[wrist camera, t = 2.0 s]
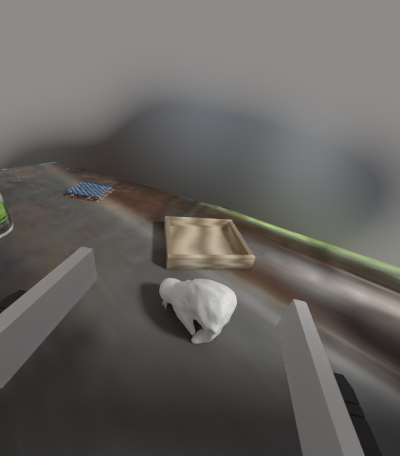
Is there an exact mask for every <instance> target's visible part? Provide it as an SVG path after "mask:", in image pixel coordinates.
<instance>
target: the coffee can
mask: <svg viewBox="0 0 400 456" xmlns="http://www.w3.org/2000/svg"><path fill="white" fill-rule="evenodd" d="M13 227H14V226H13V223H12V222H11V219H10V217H9V214H8V211H7V209H6V206H5V204H4V201H3V199H2V196H1V193H0V238H2V237H4V236H6V235H7V234H9V233H10V232H11V231H12V230H13Z"/></svg>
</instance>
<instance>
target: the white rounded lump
mask: <svg viewBox="0 0 400 456" xmlns="http://www.w3.org/2000/svg"><path fill="white" fill-rule="evenodd" d="M159 293H160V296H161V298H162V299H163V300H164V301H163V303H162V304H163V305H164V308H166V305H167V303H170V304H171V305H172V306H173V309H174V311H175V313H176V315H177V317H178V318H179V319H180V321H181V322H182V323H183V324H184V326H185V327H186V328H187V330H188V331H189V332H190V334H191V335H194V336H193V337H192V339H191V341H192V343H195V344H199V343H204V342H210V341H212V340H213V339H214V338H215V337H216V336H217V335H218V334H220V332H221V328H222V327H223V326H224V325H225V324H226V323H228V321H229V320H230V317H231V315H232V313H233V311H234V310H235V307H236V304H237V301H236V295H235V293H234V292H233V291H232V290H231V289H230V288H228V287H227V286H225V285H223V284H220V283H218V282H215V281H212V280H207V279H194V280H192V281H191V280H187V281H185V282H183V281H179V280H177V279H174V278H167V279H165V280H164V281H163V282H162V283H161V285H160V288H159ZM163 305H162V306H163ZM167 306H168V305H167ZM194 319H195V320H197V321H198V323H199V324H200V325H201V326H202V328H203V329H201V330H198V331H197V332H196V333H195V328H194V324H193V320H194Z"/></svg>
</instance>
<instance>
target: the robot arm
mask: <svg viewBox="0 0 400 456" xmlns="http://www.w3.org/2000/svg"><path fill="white" fill-rule="evenodd" d="M96 280H97V274H96V267H95V260H94V253H93V249H90V248H86V247H81V248H80V249H78V250H77V251H76V252H75V253H74V254H72V255H71V256H70V257H69V258H67V259H66V260H65V261H64V262H63V263H61V264H60V265H59V266H58V267H57V268H55V269H54V270H53V271H52V272H50V273H49V274H48V275H47V276H46V277H44V278H43V279H42V280H41V281H39V282H38V283H37V284H36V285H35V286H33V287H32V288H31V289H30V290H29V291H23V290H20V291H18V292H16V293H14V294H12V295H10V296H8V297H6V298H5V299H4V300H2V301H1V302H0V389H2V388H3V387H4V386H5V385H6V383H7V382H8V381H9V380H10V379H11V378H12V377H13V375H14V374H15V373H16V372H17V371H18V370H19V369H20V367H21V366H22V365H23V364H24V363H25V362H26V360H27V359H28V358H29V357H30V356H31V355H32V354H33V352H34V351H35V350H36V349H37V348H38V347H39V346H40V344H41V343H42V342H43V341H44V340H45V339H46V337H47V336H48V335H49V334H50V333H51V332H52V331H53V329H54V328H55V327H56V326H57V325H58V324H59V323H60V321H61V320H62V319H63V318H64V317H65V316H66V315H67V313H68V312H69V311H70V310H71V309H72V308H73V306H74V305H75V304H76V303H77V302H78V301H79V300H80V298H81V297H82V296H83V295H84V294H85V293H86V292H87V290H88V289H89V288H90V287H91V286H92V285H93V283H94V282H95V281H96ZM277 329H278V334H279V339H280V344H281V349H282V354H283V359H284V364H285V369H286V374H287V379H288V384H289V389H290V394H291V399H292V404H293V409H294V414H295V419H296V424H297V430H298V435H299V440H300V445H301V450H302V455H303V456H382V455H381V453H380V450H379V448H378V446H377V443H376V441H375V439H374V436H373V434H372V432H371V430H370V427H369V425H368V423H367V421H366V420H365V416H364V413H363V411H362V409H361V407H360V406H359V402H358V400H357V397H356V395H355V393H354V390H353V388H352V387H351V386H350V384H349V383H348V381H347V380H346V379H345V377H344V376H343V375H341V374H337V373H334V372H332V369H331V366H330V364H329V361H328V359H327V356H326V353H325V351H324V348H323V345H322V343H321V340H320V338H319V335H318V332H317V330H316V327H315V325H314V322H313V319H312V317H311V314H310V312H309V309H308V306H307V304H306V302H303V301H299V300H295V299H293V301H292V302H291V304H290V305H289V307H288V309H287V310H286V312H285V313H284V315H283V316H282V318H281V320H280V321H279V323H278V324H277Z"/></svg>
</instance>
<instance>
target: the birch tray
mask: <svg viewBox="0 0 400 456" xmlns="http://www.w3.org/2000/svg"><path fill="white" fill-rule="evenodd" d="M164 229H165V247H166V265H167V270H188V269H251V268H252V266H253V263H254V261H255V257H254V255H253V253H252V252H251V250H250V249H249V247H248V246H247V244H246V242H245V241H244V239H243V238H242V236H241V234H240V233H239V231H238V230H237V228H236V227H235V225H234V223H233V222H232V220H226V219H208V218H189V217H170V216H165V225H164Z"/></svg>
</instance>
